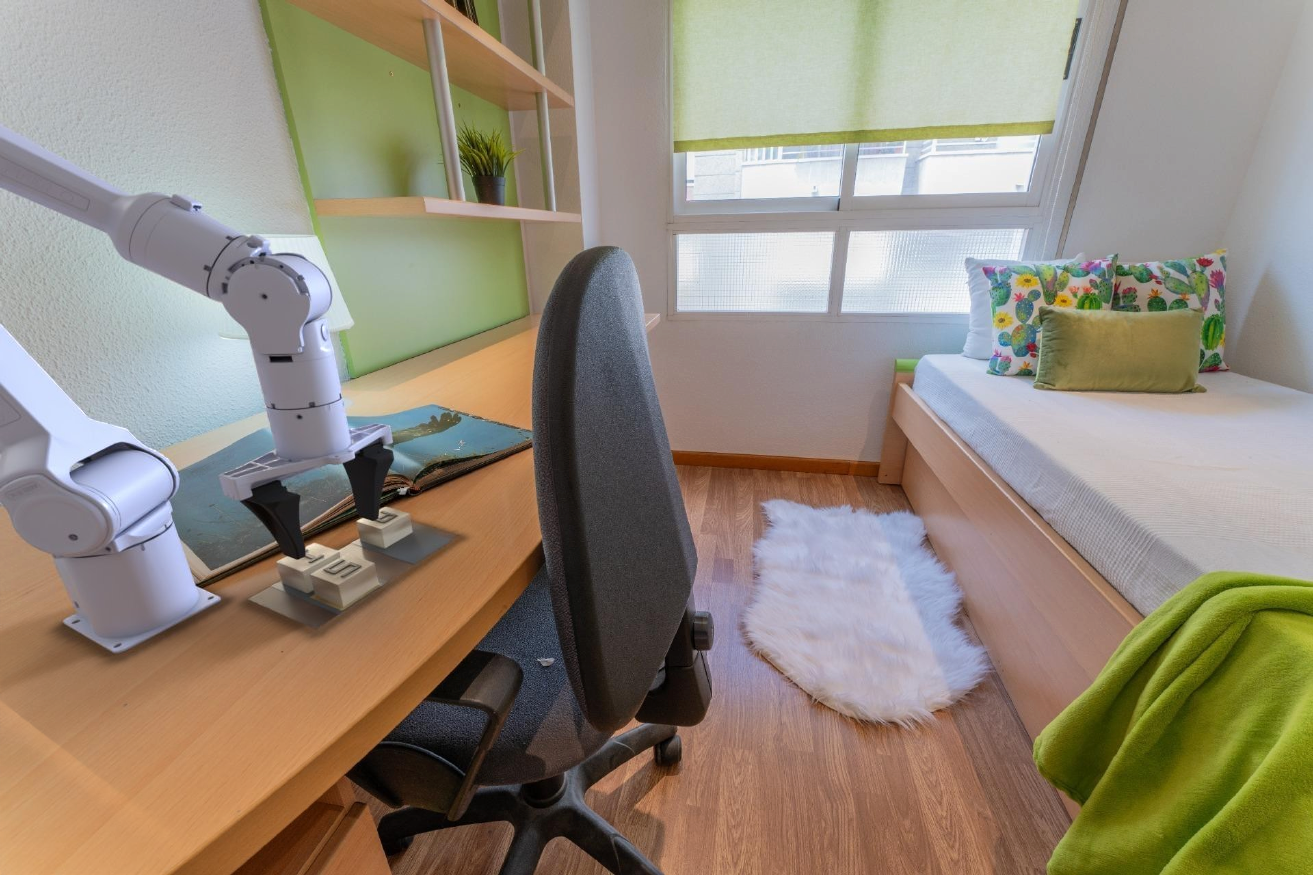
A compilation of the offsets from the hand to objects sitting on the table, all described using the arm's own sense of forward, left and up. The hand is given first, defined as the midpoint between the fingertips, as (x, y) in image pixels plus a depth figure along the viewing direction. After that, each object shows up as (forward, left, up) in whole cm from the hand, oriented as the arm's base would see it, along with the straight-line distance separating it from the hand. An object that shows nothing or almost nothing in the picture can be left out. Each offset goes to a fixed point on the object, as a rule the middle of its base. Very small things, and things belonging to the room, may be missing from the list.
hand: (334, 535), depth 50 cm
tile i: (-5, 0, -6) cm, 8 cm away
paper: (-13, +25, -7) cm, 29 cm away
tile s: (0, 0, -6) cm, 6 cm away
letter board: (-2, +4, -7) cm, 8 cm away
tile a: (-5, +9, -6) cm, 12 cm away
